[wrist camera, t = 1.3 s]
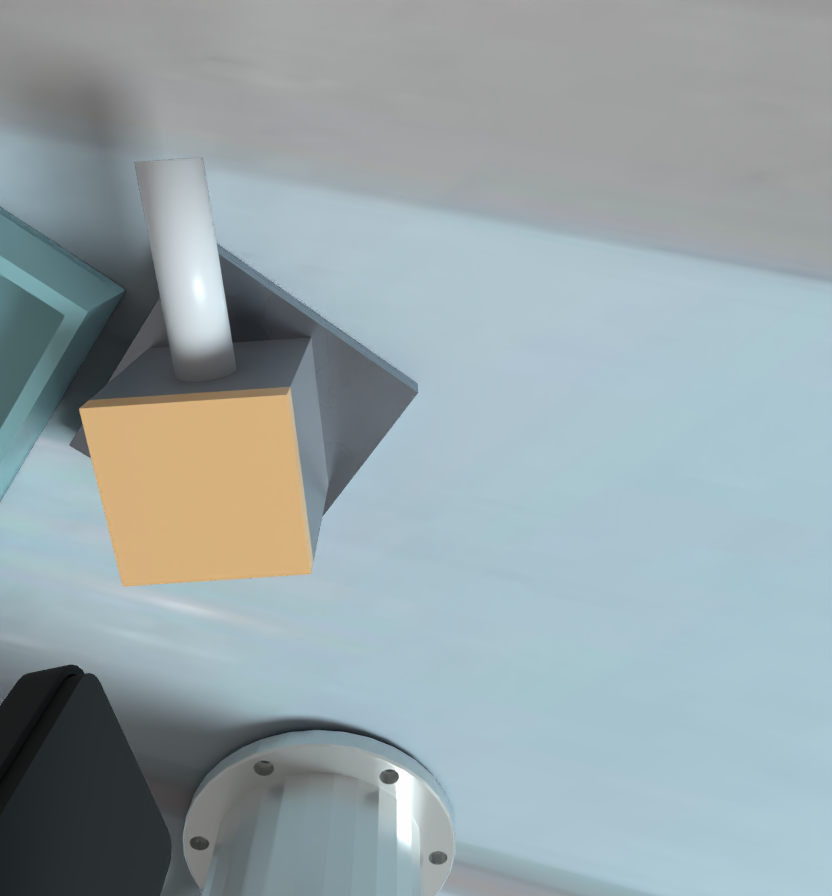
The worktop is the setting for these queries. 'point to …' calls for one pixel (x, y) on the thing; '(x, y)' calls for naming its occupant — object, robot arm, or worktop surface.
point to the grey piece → (335, 358)
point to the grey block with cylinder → (206, 420)
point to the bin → (41, 332)
